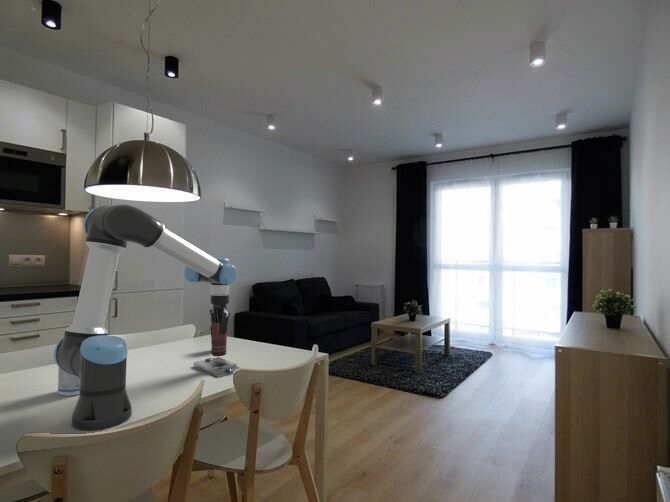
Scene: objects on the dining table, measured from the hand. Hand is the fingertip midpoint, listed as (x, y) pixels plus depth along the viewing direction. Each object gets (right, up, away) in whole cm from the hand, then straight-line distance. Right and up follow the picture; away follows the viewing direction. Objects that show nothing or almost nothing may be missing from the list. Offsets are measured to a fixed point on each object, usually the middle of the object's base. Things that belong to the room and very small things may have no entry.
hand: (218, 350), depth 166 cm
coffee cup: (-9, -8, +31) cm, 33 cm away
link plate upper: (-2, -8, +2) cm, 8 cm away
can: (0, -2, 0) cm, 2 cm away
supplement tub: (-41, -7, -30) cm, 52 cm away
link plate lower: (+2, -8, -2) cm, 8 cm away
